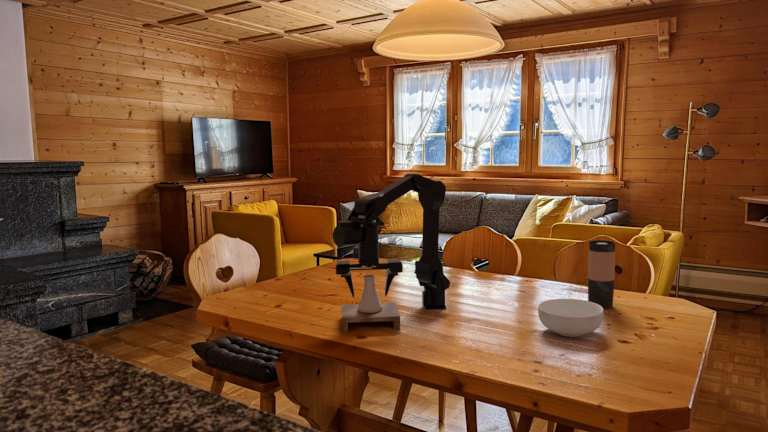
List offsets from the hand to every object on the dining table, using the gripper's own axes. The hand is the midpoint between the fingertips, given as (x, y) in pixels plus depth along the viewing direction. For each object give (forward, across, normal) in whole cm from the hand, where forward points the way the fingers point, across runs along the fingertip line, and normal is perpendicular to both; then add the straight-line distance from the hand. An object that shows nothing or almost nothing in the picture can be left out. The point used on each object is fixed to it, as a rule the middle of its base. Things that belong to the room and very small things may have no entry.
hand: (369, 296), depth 163 cm
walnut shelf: (+8, 0, 0) cm, 8 cm away
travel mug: (+8, -72, -9) cm, 73 cm away
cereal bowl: (+8, -53, +14) cm, 55 cm away
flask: (+4, 0, 0) cm, 4 cm away
